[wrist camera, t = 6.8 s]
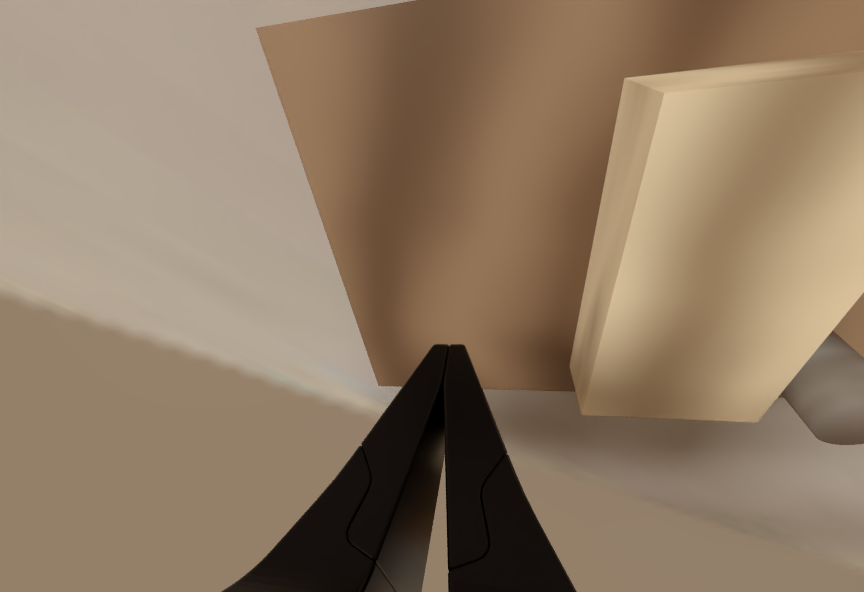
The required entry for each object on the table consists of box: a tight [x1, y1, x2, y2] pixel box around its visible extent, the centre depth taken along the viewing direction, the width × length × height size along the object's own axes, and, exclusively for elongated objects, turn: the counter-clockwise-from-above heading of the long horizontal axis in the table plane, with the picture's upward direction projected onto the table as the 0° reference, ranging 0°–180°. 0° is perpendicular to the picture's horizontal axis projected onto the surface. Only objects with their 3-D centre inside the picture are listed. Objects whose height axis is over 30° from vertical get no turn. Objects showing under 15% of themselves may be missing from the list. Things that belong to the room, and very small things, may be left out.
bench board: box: [256, 0, 864, 445], centre depth 11 cm, size 20×15×5 cm
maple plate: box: [569, 50, 864, 422], centre depth 10 cm, size 6×11×2 cm, turn 7°
